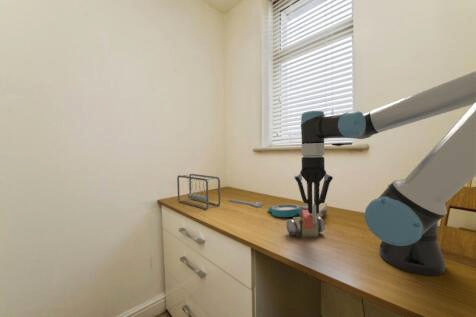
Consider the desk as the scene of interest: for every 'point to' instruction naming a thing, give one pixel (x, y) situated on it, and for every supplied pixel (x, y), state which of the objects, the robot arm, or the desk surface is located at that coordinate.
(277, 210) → the butterfly valve
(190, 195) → the newton's cradle
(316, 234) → the valve body
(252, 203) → the adjustable wrench
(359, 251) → the desk surface
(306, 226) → the lever
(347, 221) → the desk surface
